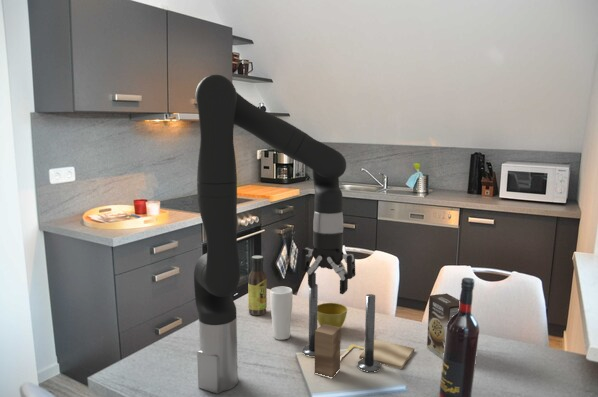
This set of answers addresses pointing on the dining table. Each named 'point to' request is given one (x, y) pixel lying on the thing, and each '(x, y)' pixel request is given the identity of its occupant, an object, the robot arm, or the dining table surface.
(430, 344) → the coffee box
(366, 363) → the post right
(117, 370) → the dining table surface
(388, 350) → the pad
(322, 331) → the walnut block
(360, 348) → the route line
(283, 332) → the drinking glass
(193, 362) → the dining table surface
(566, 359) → the dining table surface
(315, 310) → the post left
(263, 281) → the sauce bottle
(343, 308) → the flower pot
